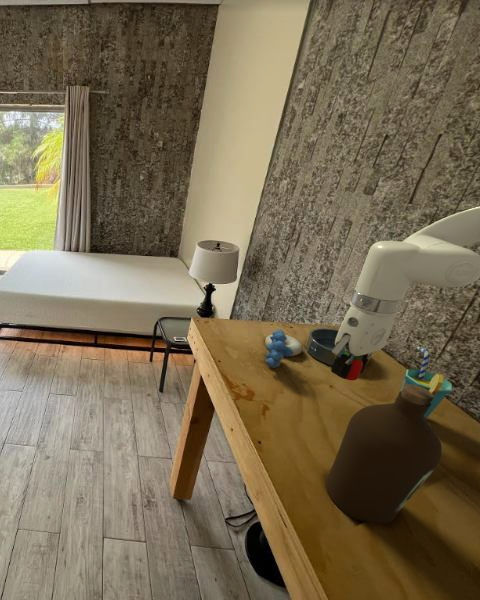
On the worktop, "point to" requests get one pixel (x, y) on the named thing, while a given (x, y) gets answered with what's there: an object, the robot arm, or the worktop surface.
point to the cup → (428, 382)
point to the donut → (288, 344)
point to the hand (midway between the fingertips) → (346, 371)
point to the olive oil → (384, 457)
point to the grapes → (277, 349)
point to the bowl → (323, 344)
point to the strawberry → (355, 367)
